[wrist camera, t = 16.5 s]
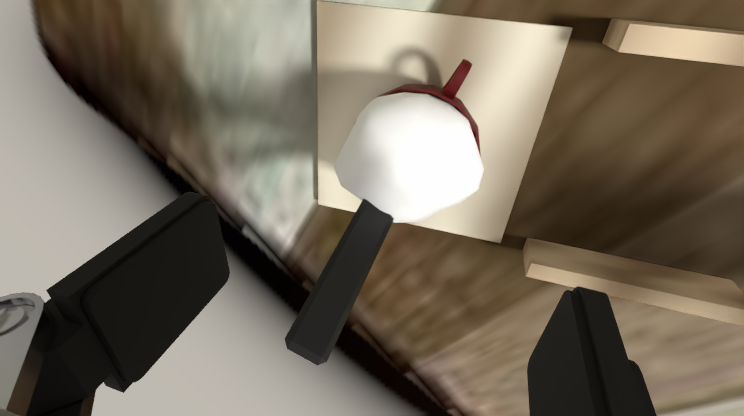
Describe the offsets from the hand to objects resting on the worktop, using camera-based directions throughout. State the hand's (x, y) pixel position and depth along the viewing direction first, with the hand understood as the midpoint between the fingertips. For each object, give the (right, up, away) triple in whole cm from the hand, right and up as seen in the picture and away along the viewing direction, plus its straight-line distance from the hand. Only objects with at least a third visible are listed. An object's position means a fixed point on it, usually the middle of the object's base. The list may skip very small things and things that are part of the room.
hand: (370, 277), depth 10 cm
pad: (+3, +6, +11) cm, 13 cm away
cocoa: (+3, +6, +11) cm, 13 cm away
